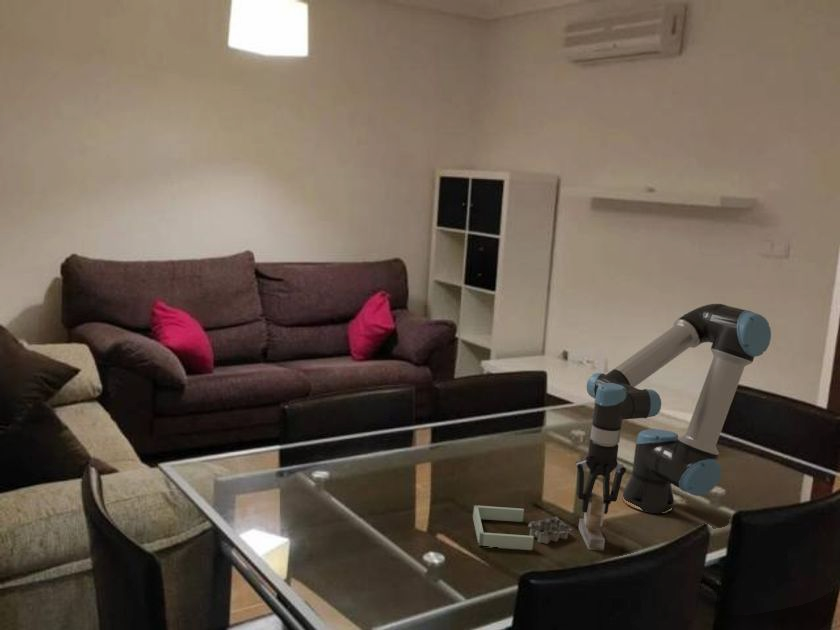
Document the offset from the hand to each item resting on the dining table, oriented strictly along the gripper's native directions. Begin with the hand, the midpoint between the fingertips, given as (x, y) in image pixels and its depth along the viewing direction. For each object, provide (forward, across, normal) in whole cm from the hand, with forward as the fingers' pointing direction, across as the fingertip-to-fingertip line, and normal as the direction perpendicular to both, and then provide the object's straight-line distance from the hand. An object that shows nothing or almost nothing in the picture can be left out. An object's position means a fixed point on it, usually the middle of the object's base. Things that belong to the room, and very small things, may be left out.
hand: (592, 523), depth 211 cm
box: (+5, +24, 0) cm, 24 cm away
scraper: (+5, 0, 0) cm, 5 cm away
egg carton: (+5, +12, 0) cm, 13 cm away
